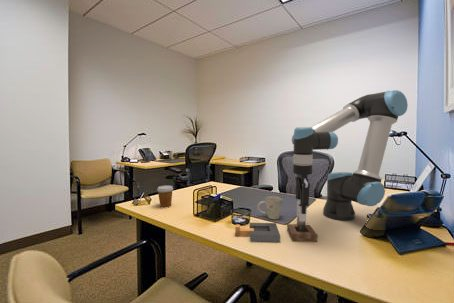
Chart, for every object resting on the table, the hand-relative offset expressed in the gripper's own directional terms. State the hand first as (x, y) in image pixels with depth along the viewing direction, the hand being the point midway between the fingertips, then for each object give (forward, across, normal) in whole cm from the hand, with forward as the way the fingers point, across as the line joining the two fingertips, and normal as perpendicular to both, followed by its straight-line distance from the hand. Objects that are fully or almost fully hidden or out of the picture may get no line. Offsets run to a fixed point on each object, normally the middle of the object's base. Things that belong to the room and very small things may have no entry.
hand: (301, 218), depth 95 cm
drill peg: (+6, 0, 0) cm, 6 cm away
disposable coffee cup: (+8, -36, -72) cm, 81 cm away
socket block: (+8, 0, -16) cm, 18 cm away
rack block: (+8, 0, 0) cm, 8 cm away
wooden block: (+8, 0, -24) cm, 25 cm away
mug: (+8, -21, -11) cm, 25 cm away
